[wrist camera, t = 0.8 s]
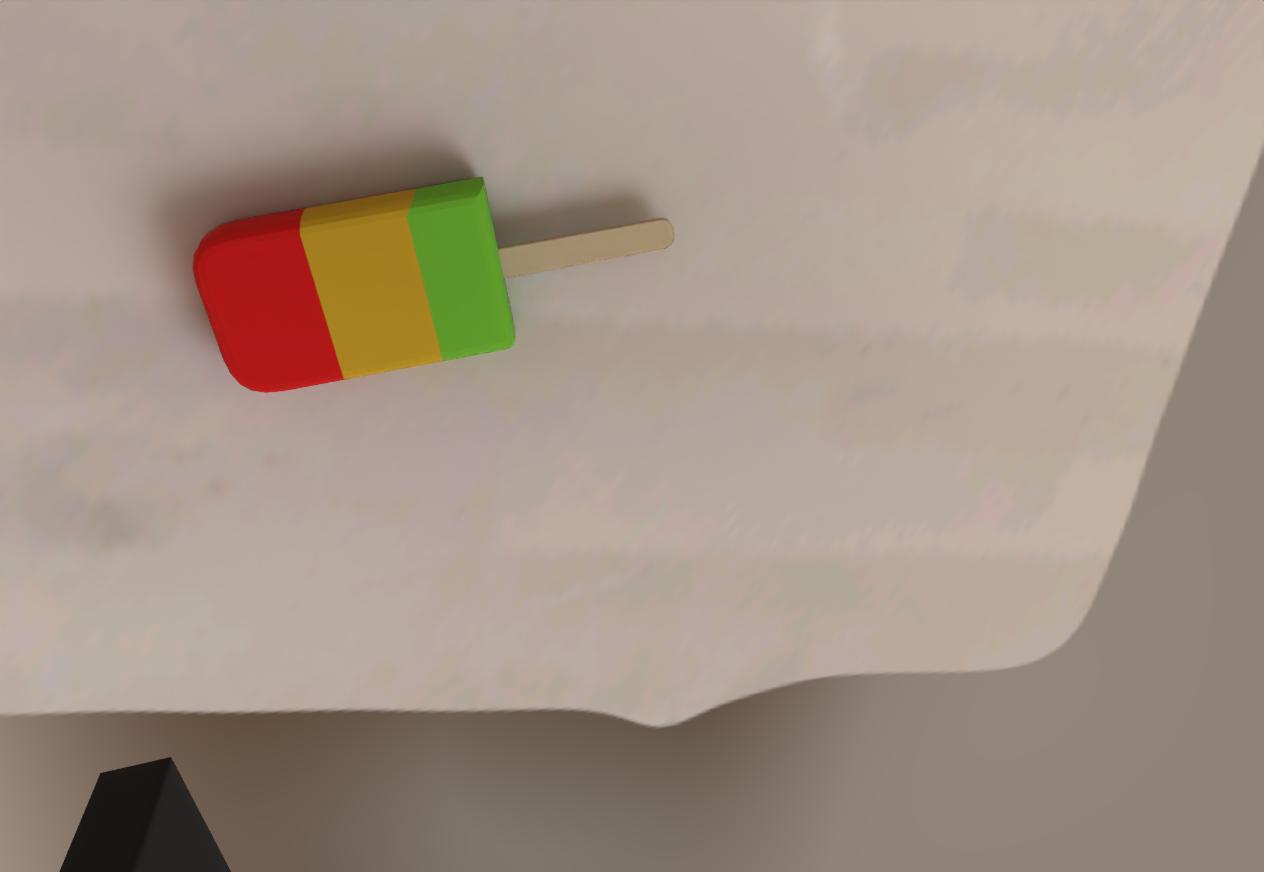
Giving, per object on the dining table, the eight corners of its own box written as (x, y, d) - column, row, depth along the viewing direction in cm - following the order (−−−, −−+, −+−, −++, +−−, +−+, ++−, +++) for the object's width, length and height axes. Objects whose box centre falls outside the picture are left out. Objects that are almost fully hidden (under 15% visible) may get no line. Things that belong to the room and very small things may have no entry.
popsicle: (189, 224, 32) (174, 241, 31) (657, 141, 33) (668, 153, 32) (245, 381, 35) (235, 405, 33) (677, 300, 36) (688, 319, 34)
